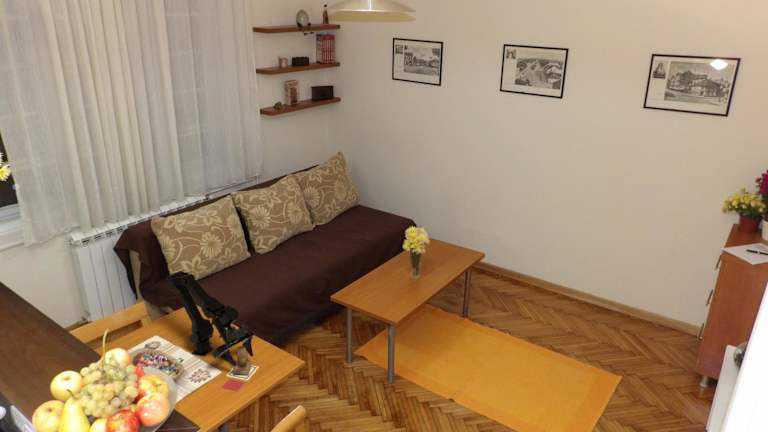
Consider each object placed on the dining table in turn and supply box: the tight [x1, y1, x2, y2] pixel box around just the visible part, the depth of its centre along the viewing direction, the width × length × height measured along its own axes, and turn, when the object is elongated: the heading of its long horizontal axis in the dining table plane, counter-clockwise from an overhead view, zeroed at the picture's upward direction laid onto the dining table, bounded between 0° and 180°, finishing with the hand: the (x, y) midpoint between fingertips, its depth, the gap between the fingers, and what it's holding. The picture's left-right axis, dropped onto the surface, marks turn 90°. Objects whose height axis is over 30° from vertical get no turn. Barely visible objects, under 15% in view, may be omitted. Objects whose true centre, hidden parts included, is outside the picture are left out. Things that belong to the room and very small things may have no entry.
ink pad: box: [221, 378, 246, 392], centre depth 227 cm, size 8×7×1 cm
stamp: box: [232, 345, 252, 376], centre depth 234 cm, size 6×6×11 cm
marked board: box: [225, 364, 259, 382], centre depth 236 cm, size 10×10×1 cm
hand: (244, 361), depth 233 cm, fingers open, 9 cm apart
